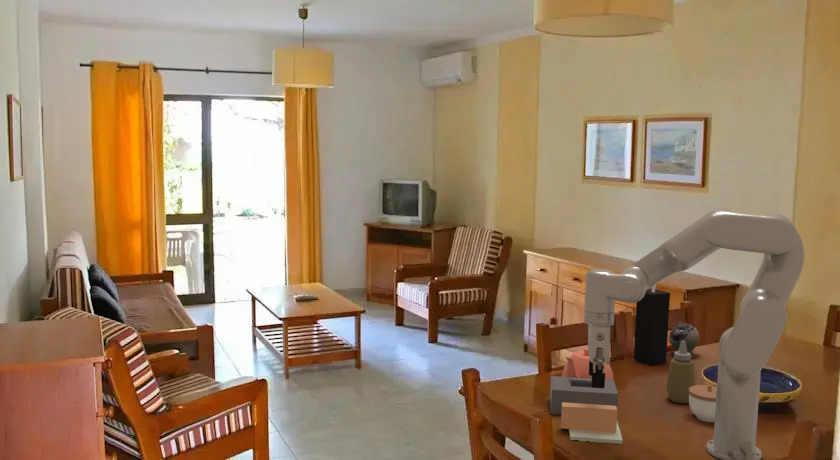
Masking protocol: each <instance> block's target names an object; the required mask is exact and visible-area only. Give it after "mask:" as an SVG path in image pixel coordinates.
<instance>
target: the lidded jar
mask: <svg viewBox="0 0 840 460" xmlns="http://www.w3.org/2000/svg"><path fill="white" fill-rule="evenodd" d="M716 392H717V385H716V386H715V385H711V384H695V386H691V387H690V388H689V403H688V404H689V408H690V410H691V412H692V413H693V415H695V417H696V419H698V420H700V421H703V422H707V423H715V407H716Z"/></svg>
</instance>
